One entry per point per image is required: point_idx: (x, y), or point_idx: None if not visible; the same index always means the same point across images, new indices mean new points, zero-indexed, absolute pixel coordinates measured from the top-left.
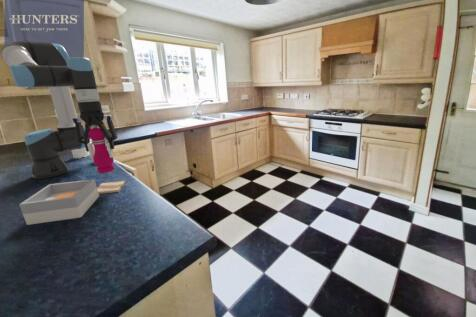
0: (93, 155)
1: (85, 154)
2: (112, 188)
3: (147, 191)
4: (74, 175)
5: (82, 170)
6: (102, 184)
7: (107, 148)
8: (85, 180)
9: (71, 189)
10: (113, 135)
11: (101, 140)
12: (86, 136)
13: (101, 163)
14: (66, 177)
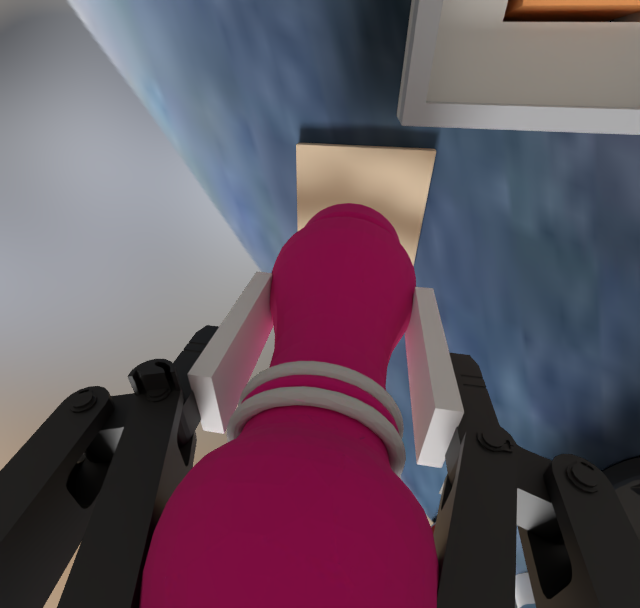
0: (412, 326)
1: (529, 586)
2: (335, 176)
3: (142, 85)
4: (558, 434)
5: None
6: None
7: None
8: (468, 122)
9: (564, 105)
10: (41, 445)
11: (244, 405)
12: (471, 545)
13: (339, 220)
14: (593, 428)
